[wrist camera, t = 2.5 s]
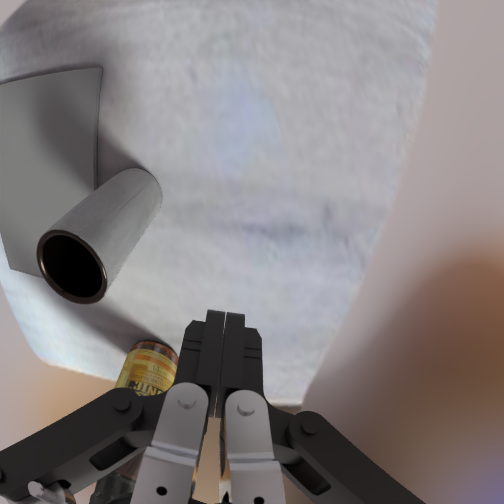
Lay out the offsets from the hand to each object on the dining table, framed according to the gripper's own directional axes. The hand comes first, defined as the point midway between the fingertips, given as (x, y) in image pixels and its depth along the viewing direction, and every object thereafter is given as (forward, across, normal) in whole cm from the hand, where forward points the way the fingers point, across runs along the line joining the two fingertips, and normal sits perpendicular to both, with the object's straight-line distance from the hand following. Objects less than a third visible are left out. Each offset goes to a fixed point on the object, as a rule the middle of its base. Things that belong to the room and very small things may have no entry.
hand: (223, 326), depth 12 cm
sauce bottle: (+12, +7, +19) cm, 23 cm away
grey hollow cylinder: (+12, +8, 0) cm, 15 cm away
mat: (+12, +18, 0) cm, 22 cm away
